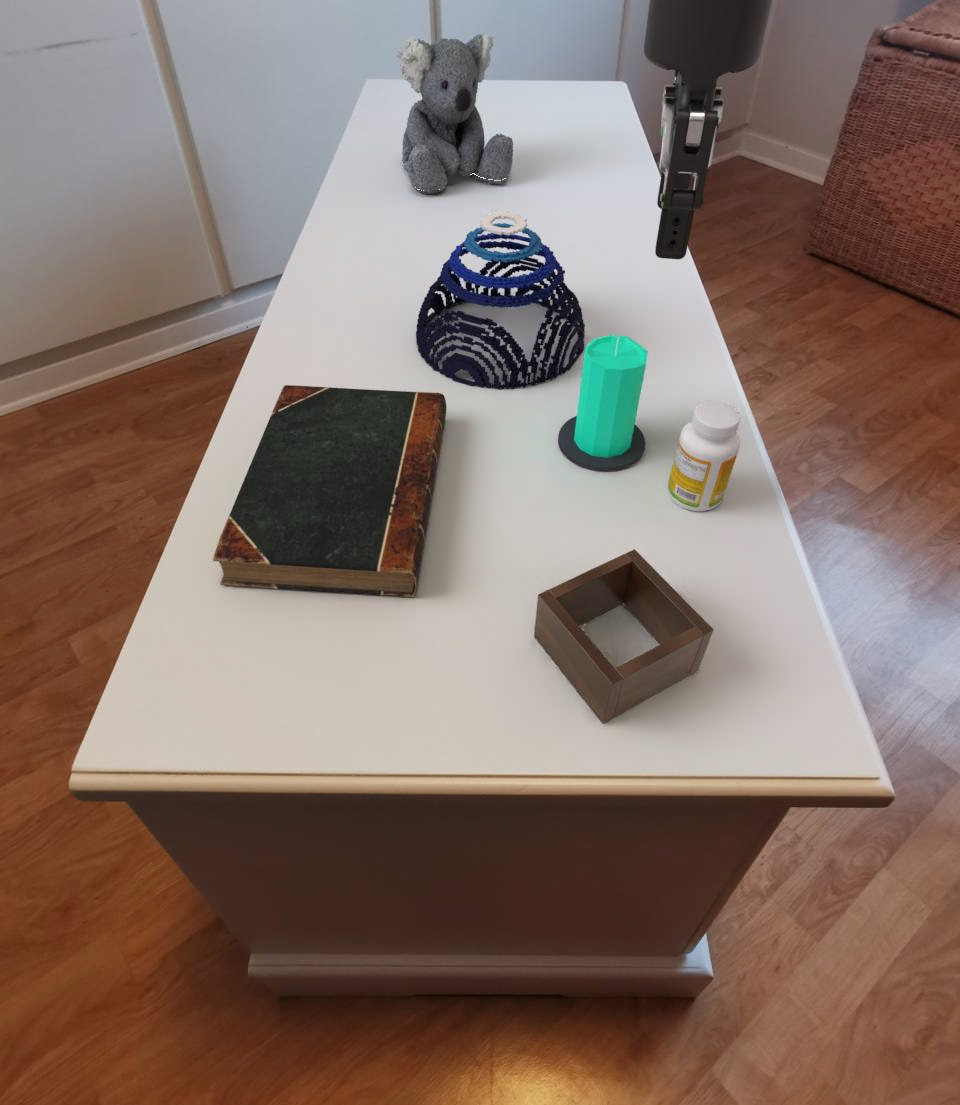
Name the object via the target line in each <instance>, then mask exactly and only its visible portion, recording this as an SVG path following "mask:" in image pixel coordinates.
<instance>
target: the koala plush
mask: <svg viewBox="0 0 960 1105" xmlns="http://www.w3.org/2000/svg"><path fill="white" fill-rule="evenodd" d="M493 39H494V37H493V36H492V35H489V34H486V33H485V32H484V31H482V33H480V34H476V35H474V36H473V37H472V38H471V39H469V40H468V41H467V42H466V43H464V42H463V41H461V40H460V39H458V38H450V39H449V38H447V37H446V38H444V37H442V38H440V39H438V40H435V41H434V42H432V43H431V44H430V43H428V42H426V41H425V40H421V39H420V38H417V39H415V37H414V36H409V38H406V39H405V41H404V42H403V43H402V45H401V46H399V49H400V50H398V53H397V54H396V57H397V58H398V59H399V60H401V61H400V62H399V63H400V64H399V69H400V71H401V75H402V77H403V78H404V79H403V80H404V81H406V82H408V84H410V89H413V90H414V92H415V93H417V94H420V95H421V99H420V100H417V102H414V103H413V105H412V106H411V107H410V110H409V114H408V117H407V120H406V121H407V122H406V127H405V131H404V132H403V135H402V136H403V137H402V152H401V154H402V157H401V162H403V164H404V166H403V170H404V171H405V172H406V171H407V170H408V171H407V173H408V177H409V181H410V185H411V187H412V188H413V189H414V190H415V191H418V192H419V193H422V194H425V195H431V194H435V195H436V194H439V193H440V192H443V191H444V190H445V188H446V187H447V184H448V177H447V176H448V175H449V176H452V175H453V174H455V173H457V172H458V174H459V175H460V176H463V175H464V176H463V177H465V176H466V175H470V174H472V173H475V174H476V175H478V176H480V177H484V178H486V179H483V178H480V177H478V176H476V175H474V174H472V175H470V176H466V177H469V178H471V179H473V180H476V181H479V182H484V183H488V184H489V185H491V184H493V185H500V184H504V183H506V181H507V179H508V178H509V175H510V174H511V173H510V172H511V171H512V167H513V166H512V165H513V161H514V160H513V158H514V153H513V152H514V141H513V138H512V137H511V136H506V135H505V134H503V133H499V134H498V133H496V134H495V135H492V137H490V138H489V140H488V141H487V142H486V144H485V130H484V125H483V121H482V118H481V115H480V112H479V110H478V108H477V106H476V103H477V93H478V90H479V88H478V87H479V83H482V82H483V80H485V72H486V71H487V69H488V68H489V67H490V64H491V51H492V50H491V49H492V48H493V47H494V43H493V42H494V41H493ZM403 164H402V165H403ZM504 178H506V179H504ZM488 179H493V180H488ZM502 179H504V180H502ZM494 180H501V181H494ZM415 187H416V188H415ZM417 189H420V190H417ZM439 189H440V190H439ZM421 190H422V191H421ZM423 190H424V191H423Z"/></svg>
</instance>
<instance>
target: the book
mask: <svg viewBox="0 0 960 1105" xmlns="http://www.w3.org/2000/svg"><path fill="white" fill-rule="evenodd" d="M272 409H273V410H272V412H271V415H270V416H269V419H268V422H267V424H266V427H265V428H264V431H263V434H262V435H261V438H260V440H259V443H258V445H257V448H256V450H255V453H254V456H253V458H252V460H251V462H250V465H249V467H248V470H247V472H246V474H245V477H244V479H243V482H242V484H241V486H240V488H239V491H238V494H237V496H236V499H235V500H234V503H233V506H232V508H231V510H230V513H229V515H228V517H227V519H226V523H225V524H224V527H223V530H222V531H221V534H220V536H219V538H218V542H217V544H216V548H215V550H214V554H213V556H212V562H218V563H219V565H220V567H221V569H222V574H223V575H222V578H221V581H220V586H230V587H231V586H233V587H247V588H261V589H278V590H293V591H305V592H324V593H342V594H358V595H360V594H361V595H377V596H378V595H379V596H391V597H392V596H393V597H402V598H409V597H410V598H413V597H415V596H416V594H417V593H416V592H417V588H418V583H419V578H420V570H421V564H422V559H423V554H424V548H425V542H426V535H427V530H428V524H429V518H430V512H431V507H432V500H433V496H434V495H433V494H434V489H435V482H436V477H437V471H438V464H439V459H440V453H441V447H442V440H443V435H444V429H445V422H446V416H447V400H446V397H445V395H444V394H443V393H441V392H430V391H429V392H428V391H427V392H425V391H405V390H383V389H366V388H365V389H363V388H346V387H331V386H330V387H328V386H314V385H313V386H312V385H311V386H310V385H295V384H294V385H293V384H292V385H291V384H285V385H283V387H282V389H281V390H280V393H279V396H278V398H277V400H276V402H275V405H274V407H273V408H272Z"/></svg>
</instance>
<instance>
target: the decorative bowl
mask: <svg viewBox="0 0 960 1105" xmlns="http://www.w3.org/2000/svg"><path fill="white" fill-rule="evenodd" d="M499 219H500V220H505V219H506V220H510V221H514V224H511V223H505V222H503V223H500V222H498V223H493V222H494V221H496V220H499ZM527 221H528V218H527V217H522V215H521V214H519V213H515V212H510V211H495V212H494V211H492V212H491V213H490V214H486V215H485V216H484V217H482V218H481V219H480V222H479V227H476V228H475V229H474V230H473V231H472V230H470V231H469V232H468V233H467V234H466V237H465V239H464V241H462V242H461V243H460V244H459V245H455V248H454V250H452V252H450V256H449V259H448V260H446V261H445V262H444V263H443V264H442V267H441V271H440V272H439V273H440V275H439V276H438V277H437V280H436V281H435V282H433V284H431V285H430V286H429V289H428V291H427V293H426V296H425V297H424V298H423V301H422V303H421V305H420V308H419V311H418V312H419V313H418V315H417V320H416V321H417V324H416V331H415V340H416V345H417V351H418V353H420V357H421V358H422V359H424V361H425V363H426V364H427V365H428V366H429V367H431V368H432V370H433V371H435V372H439V374H440V375H444V377H445V378H449V379H452V381H453V382H457V383H460V384H464V385H467V386H471V387H478V388H487V389H495V390H500V391H501V390H504V389H507V390H509V389H511V390H514V389H518V388H519V389H520V388H524V389H526V387H527V386H528V387H529V386H533V387H535V386H536V384H537V385H539V384H542V383H544V384H545V383H546V382H548V381H553V379H557V377H558V376H561V375H562V374H565V373H566V372H567V371H570V370H571V369H572V367H573V366H574V364H575V363H576V362H577V360H578V359H579V358H580V356H581V355H582V353H583V352H584V351H585V329H586V324H585V322H584V318H583V311H582V307H581V305H580V301H579V300H578V297H577V295H576V294H575V293H574V291H571V289H570V288H569V287H568V285H567V283H566V282H565V273H566V270H565V269H563V266H562V265H561V263H559V261H558V260H557V259H556V256H555V255H554V251H553V250H551V249H550V248H551V247H549V246H547V245H546V244H544V243H543V242H542V238H541V237H540V236H539V235H538V233H537V232H535V231H533V229H532V230H531V228H528V223H527ZM484 232H487V234H483V233H484ZM519 232H520V233H522V234H524V235H527V236H528V237H527V236H523V235H518V233H519ZM500 239H501V241H496V240H500ZM491 240H492V241H491ZM507 240H508V241H507ZM512 240H513V241H512ZM515 240H517V241H522V242H525V243H528V244H524V243H519V242H515ZM496 248H500V249H506V250H507V251H508V250H513V251H509V252H507V251H506V252H502V251H498V250H493V251H492V250H490V249H496ZM488 249H489V250H488ZM469 253H470V255H474V256H476V257H477V258H480V259H482V260H484V261H487V262H486V263H485V266H483V267H482V268H481V269H480V270H479V272H476V271H473V269H471V268H468V267H467V266H466V265H465V263H462V259H461V258H460V257H463V256H465V255H467V254H469ZM533 256H539V257H542V258H544V262H542V261H539V259H537V258H534V257H533ZM511 265H513V266H512V267H511V268H509V267H510V266H511ZM514 265H515V266H514ZM507 268H509V269H508V270H506V269H507ZM503 269H504V270H506V271H505V272H504V273H503V274H501V275H500V276H498V275H497V274H498V273H500V272H501V271H502V270H503ZM520 271H521V272H527V271H530V272H529V274H526V273H522V274H519V275H518V276H515V275H513V274H516V272H517V273H519V272H520ZM495 275H496V276H495ZM461 279H462V280H463V281H464V282H465V284H464V285H465V286H463V284H462V283H461V282H462V281H461ZM544 279H545V280H544ZM546 282H549V283H546ZM473 285H474V287H473ZM464 287H465V288H464ZM481 287H483V288H482V291H480V293H479V289H480V288H481ZM500 289H503V290H504V291H503V294H501V292H500V291H499V290H500ZM512 289H517V291H515V294H513V295H512ZM489 290H490V295H489ZM530 291H531V293H529V292H530ZM438 292H439V293H438ZM440 292H441V293H440ZM442 294H443V295H444V298H445V302H444V299H443V296H442ZM556 296H557V297H556ZM463 303H464V304H465V303H471V304H474V305H478V306H481V307H491V308H495V307H496V308H501V309H503V308H506V309H508V308H519V307H524V306H530V305H531V304H537V305H540V306H541V307H545V308H547V310H546V311H545V314H544V318H545V320H544V322H543V321H542V322H541V323H540V327H539V329H538V331H537V333H536V336H535V340H534V344H533V347H532V352H531V357H530V358H529V361H528V359H527V358H526V353H524V349H522V346H521V345H520V344H519V343H518V341H517V340H516V338H514V336H513V335H511V332H508V331H507V329H505V327H504V326H502V325H499V326H498V322H495V321H494V319H493V318H489V317H486V318H483V317H479V316H476V315H471V314H468V313H466V312H465V311H462V310H458V309H457V311H454V310H451V311H444V310H447V309H451V308H452V307H455V306H457V304H458V305H462V304H463ZM430 310H433V312H431V313H430V314H429V311H430ZM443 311H444V312H443ZM554 312H555V313H559V314H556V315H555V316H553V314H554ZM441 313H443V314H441ZM436 316H437V317H436ZM435 317H436V318H435ZM434 318H435V319H434ZM433 319H434V320H433ZM459 319H460V320H461V321H458V320H459ZM565 319H566V320H565ZM432 320H433V321H432ZM561 320H565V321H564V322H563V321H561ZM454 321H456V322H454ZM462 321H463V322H462ZM453 322H454V323H453ZM466 322H468V323H466ZM446 323H447V324H446ZM451 323H453V324H451ZM470 323H471V324H470ZM556 323H557V324H556ZM473 324H475V325H473ZM478 325H479V326H478ZM482 325H484V326H487V330H489V331H487V330H486V328H485V327H481V326H482ZM548 325H549V329H548V328H547V327H548ZM573 328H574V329H573ZM549 330H551V332H550V336H548V339H547V342H545V340H546V338H547V335H548V333H549ZM490 331H491V333H492V334H493V335H491V333H490ZM542 331H543V332H542ZM447 334H448V335H449V336H448V337H447ZM459 334H463V335H464V336H463V337H462V336H459ZM466 335H467V336H466ZM576 335H577V338H578V339H577V340H576V341H575V343H574V344H573V345H572V347H571V350H570V353H569V356H568V362H567V364H566V365H565V360H566V357H567V352H568V351H569V347H570V346H571V345H570V344H571V341H572V340H573V338H574V337H575V336H576ZM557 336H558V337H559V339H558V343H557V344H556V348H555V351H554V353H553V355H551V353H552V348H553V346H554V344H555V342H556V338H557ZM443 337H444V338H443ZM473 337H475V338H478V339H479V341H476V340H475V341H474V338H473ZM498 337H499V338H498ZM440 339H441V340H440ZM439 340H440V341H439ZM452 341H453V342H456V341H459V342H460V343H461V344H462V343H463V344H462V345H458V344H453V343H452ZM501 341H502V342H501ZM539 341H540V342H539ZM436 342H437V343H436ZM448 342H449V343H451V344H450V345H449V346H446V344H447V343H448ZM435 343H436V344H435ZM501 343H502V344H501ZM503 343H504V344H503ZM444 345H445V346H444ZM468 345H469V346H468ZM508 345H509V349H510V350H511V351H510V350H509V349H508ZM441 346H442V347H443V346H444V347H443V348H442V349H440V347H441ZM471 346H478V347H480V349H482V351H483V352H484V353H488V354H489V356H491V359H493V361H494V362H495V365H496V366H497V368H498V369H499V371H501V382H500V375H498V373H497V372H495V371H496V366H495V365H494V364H493V363H491V362H492V361H491V360H489V358H488V357H485V354H483V352H482V351H479V350H475V349H472V347H471ZM489 346H490V348H489ZM541 346H542V347H541ZM439 349H440V350H439ZM456 350H459V351H463V352H467V353H470V354H473V355H474V357H473V356H469V355H466V354H462V353H458V352H455V351H456ZM543 350H544V352H543V357H542V359H540V358H541V354H542V351H543ZM493 351H494V352H493ZM431 352H432V353H431ZM450 352H452V354H451V355H450V356H448V354H449V353H450ZM453 352H454V353H453ZM512 354H513V355H512ZM446 355H447V356H446ZM435 356H436V357H435ZM498 356H499V357H500V358H501V360H503V362H502V361H501V360H499V359H498ZM443 357H445V359H443ZM475 357H477V358H478V360H476V359H475ZM514 357H515V359H514ZM538 359H540V360H539V361H537V360H538ZM550 359H551V360H552V362H550ZM479 360H480V361H482V363H483V364H484V365H485V366H483V365H482V364H481V363H480V362H479ZM440 361H442V362H441V368H440V366H439V363H440ZM548 363H549V364H548ZM539 364H541V366H540V365H539ZM518 365H519V367H518ZM564 365H565V366H564ZM504 366H505V369H506V370H507V372H509V376H508V374H506V370H505V369H504ZM486 367H487V369H488V370H489V371H490V372H491V376H492V377H493V383H491V382H490V376H489V375H488V371H487V370H486ZM529 367H530V371H529ZM546 368H547V369H546ZM461 371H465V372H467V374H468V375H469V377H471V379H472V380H471V379H466V378H464V377H460V376H457V375H456V374H457V373H459V372H461ZM538 371H539V375H538V376H537V374H538ZM520 374H521V375H520ZM519 375H520V376H521V377H520V378H521V379H522V380H520V379H519ZM531 376H532V377H531ZM508 377H509V381H508ZM531 379H532V381H531ZM473 380H474V381H473ZM502 382H503V383H502Z"/></svg>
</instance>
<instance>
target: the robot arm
mask: <svg viewBox="0 0 960 1105" xmlns="http://www.w3.org/2000/svg"><path fill="white" fill-rule="evenodd" d="M772 3H773V0H649V3H648V10H647V19H646V26H645V35H644V43H643V54H644V57H645V58H646V60H647V61H648V62H649V63H650V64H652V65H653V66H655V67H657V68H660V69H662V70H665V71H674V74H673V81H672V84H665V85H664V89H663V94H662V104H661V121H660V126H661V127H660V136H659V137H660V138H661V149H660V154H659V164H658V168H659V171H660V172H661V175H660V181H659V187H658V195H657V201H656V202H657V203H656V204H657V207H658V208H659V209H660V210H661V211H660V217H659V223H658V229H657V234H656V242H655V251H654V252H655V256H656V257H657V258H659V259H666V260H667V259H669V260H682V259H683V258H685V257H686V255H687V250H688V246H689V239H690V235H691V231H692V230H691V229H692V225H693V220H694V215H695V211H700V210H701V206H702V205H704V204H703V203H704V196H703V194H704V190H705V184H706V179H707V174H708V172H709V171H710V168H711V166H712V164H713V157H714V150H715V143H716V135H717V131H718V129H719V127H720V124H721V122H722V119H723V114H724V113H723V112H724V106H725V99H723V98H722V97H723V89H724V88H723V87H720V86H719V87H718V86H717V81H718V79H719V78H721V76H723V75H725V74H728V73H731V74H736V73H737V74H738V73H740V72H743V71H746V70H748V69H750V68H751V67H753V66H754V65H755V64H756V63H757V62H758V60H759V58H760V56H761V54H762V53H761V52H762V48H763V43H764V40H765V39H764V38H765V34H766V30H767V25H768V20H769V16H770V13H771V12H770V11H771V7H772ZM691 176H692V177H693V180H692V185H691V186H692V187H691V188H689V185H690V181H691Z"/></svg>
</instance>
